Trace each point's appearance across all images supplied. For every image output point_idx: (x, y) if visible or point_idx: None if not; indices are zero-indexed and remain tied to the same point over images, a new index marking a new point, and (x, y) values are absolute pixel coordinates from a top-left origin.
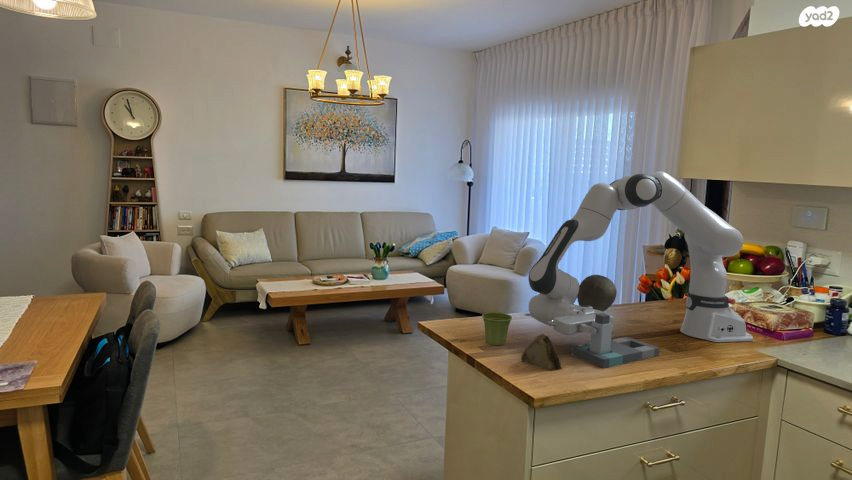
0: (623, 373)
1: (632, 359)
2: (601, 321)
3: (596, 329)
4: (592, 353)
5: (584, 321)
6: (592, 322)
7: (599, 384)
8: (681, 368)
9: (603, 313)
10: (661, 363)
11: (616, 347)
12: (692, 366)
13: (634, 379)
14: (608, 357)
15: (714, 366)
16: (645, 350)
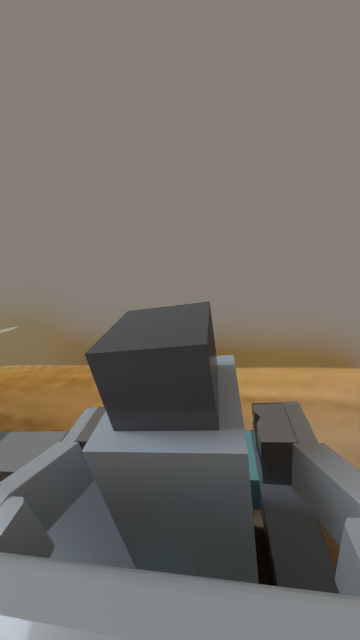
0: (246, 402)
1: None
2: (215, 351)
3: (272, 404)
4: (296, 526)
5: (353, 600)
6: (246, 450)
7: None
8: (91, 380)
9: (96, 343)
10: (81, 411)
11: (72, 526)
12: (63, 380)
13: (249, 373)
14: (246, 439)
15: (40, 369)
16: (49, 432)
